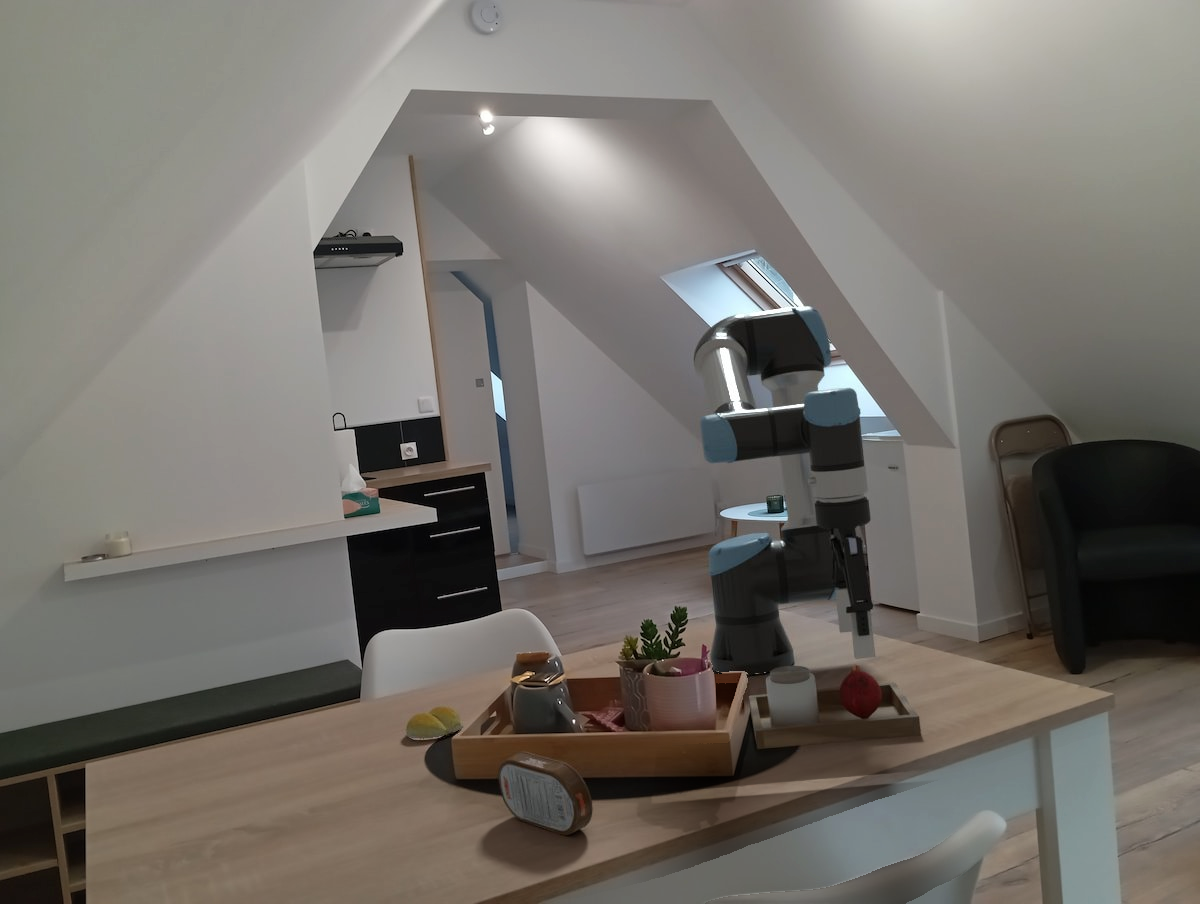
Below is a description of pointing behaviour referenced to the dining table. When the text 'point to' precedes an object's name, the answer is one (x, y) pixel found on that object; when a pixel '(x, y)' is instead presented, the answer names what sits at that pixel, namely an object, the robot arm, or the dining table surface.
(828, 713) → the wooden tray
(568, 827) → the tin
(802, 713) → the jar
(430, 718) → the yellow rounded lump
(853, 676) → the onion
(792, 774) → the dining table surface
